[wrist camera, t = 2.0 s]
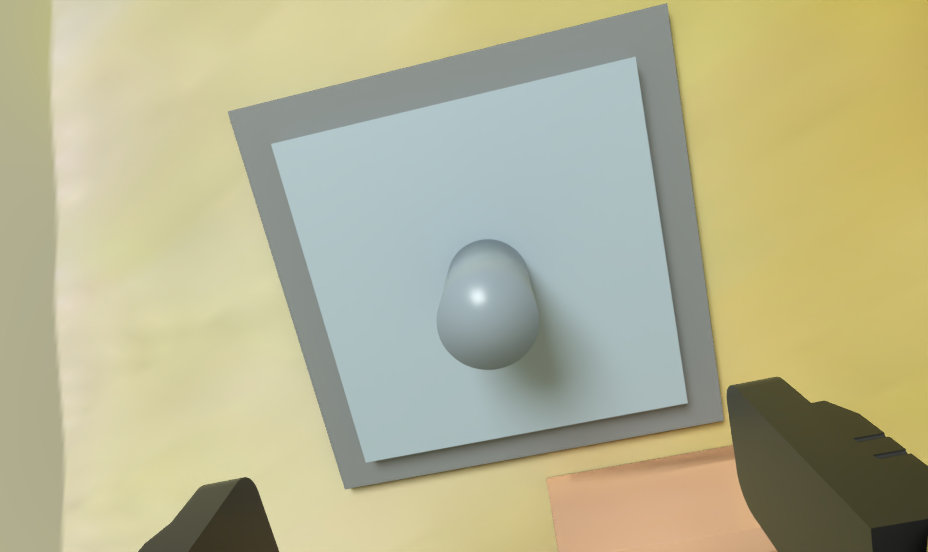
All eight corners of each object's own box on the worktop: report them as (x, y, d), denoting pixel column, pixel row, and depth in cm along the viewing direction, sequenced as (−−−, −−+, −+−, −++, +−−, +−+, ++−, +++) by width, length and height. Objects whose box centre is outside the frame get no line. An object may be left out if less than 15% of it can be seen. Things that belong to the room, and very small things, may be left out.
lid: (278, 143, 22) (207, 150, 17) (630, 59, 21) (681, 35, 15) (369, 452, 25) (335, 546, 20) (681, 393, 24) (740, 476, 18)
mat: (233, 111, 22) (227, 111, 22) (663, 6, 21) (666, 3, 20) (347, 482, 26) (345, 489, 26) (719, 414, 25) (723, 420, 24)
